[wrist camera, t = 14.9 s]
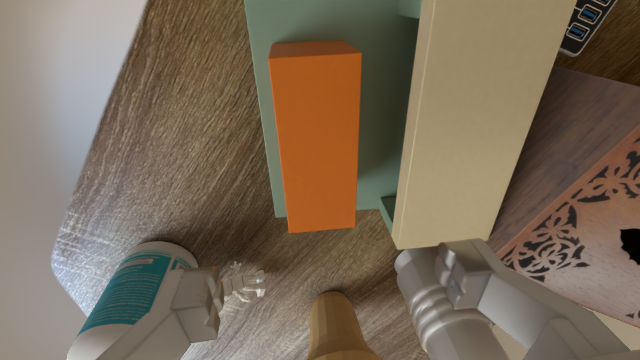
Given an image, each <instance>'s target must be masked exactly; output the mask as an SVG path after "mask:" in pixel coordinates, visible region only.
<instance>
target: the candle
mask: <svg viewBox="0 0 640 360" xmlns="http://www.w3.org/2000/svg"><path fill="white" fill-rule="evenodd" d="M438 255H439V252H438V251H437V247H436V246H430V247H420V248H411V249H406V250H404V251H403V252H401V254H400V255H399V256H398V257H397V259H396V261H395V265H394V267H395V270H396V272H397V273H398V275H397V285H398V287H399V289H400V291H401V293H402V295H403V297H404V299H405V301H406V303H407V311H408V314H409V315H410V317H411V321H412V324H413V325H414V327H415V331H416V334H417V336H418V337H419V340H420V344H421V347H422V348H423V349H424V351H426V352H427V353H428V355H429V358H430V360H510V359H509V357H508V356H507V354H506V352H505V351H504V349H503V348H502V346H501V345H500V343H499V341H498V340H497V338H496V337H495V335H494V333H493V332H492V322H491V320H490V319H489V318H488V317H487V316H485V315H484V314H483V313H482V312H480V311H479V310H478V309H477V308H468V309H457V310H454V309H453V307H452V305H451V303H450V302H449V300H448V298H447V296H446V294H445V292H446V288H445V287H444V286H442V285H441V284H439V282H438V280H437V278H436V276H435V273H434V260H435V258H436V257H437V256H438Z"/></svg>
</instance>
